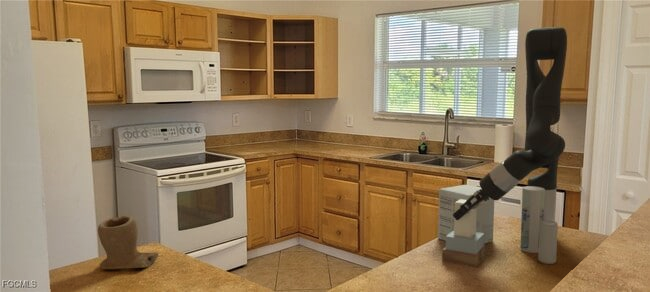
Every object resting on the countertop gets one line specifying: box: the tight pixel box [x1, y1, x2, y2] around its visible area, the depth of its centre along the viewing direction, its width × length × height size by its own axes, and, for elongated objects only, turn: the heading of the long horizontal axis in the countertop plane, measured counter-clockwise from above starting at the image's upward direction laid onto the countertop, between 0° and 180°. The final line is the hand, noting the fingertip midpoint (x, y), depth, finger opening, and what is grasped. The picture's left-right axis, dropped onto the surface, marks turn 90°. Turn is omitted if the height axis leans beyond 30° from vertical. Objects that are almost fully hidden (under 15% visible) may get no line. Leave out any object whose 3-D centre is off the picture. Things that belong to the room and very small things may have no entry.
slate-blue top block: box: [445, 230, 485, 254], centre depth 152 cm, size 9×9×4 cm
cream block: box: [454, 199, 477, 238], centre depth 152 cm, size 5×5×10 cm
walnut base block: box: [441, 245, 486, 268], centre depth 153 cm, size 10×10×4 cm
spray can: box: [519, 185, 545, 254], centre depth 160 cm, size 6×6×20 cm
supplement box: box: [437, 184, 495, 244], centre depth 171 cm, size 13×13×18 cm
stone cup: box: [97, 215, 159, 270], centre depth 147 cm, size 15×12×15 cm
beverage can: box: [537, 220, 559, 265], centre depth 150 cm, size 5×5×12 cm
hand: (459, 215), depth 153 cm, fingers open, 6 cm apart
